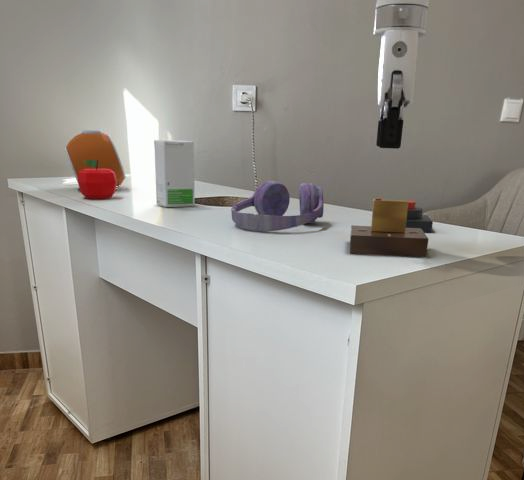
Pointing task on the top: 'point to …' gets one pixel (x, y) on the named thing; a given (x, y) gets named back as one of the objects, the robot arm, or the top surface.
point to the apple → (96, 181)
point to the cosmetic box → (174, 173)
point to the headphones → (278, 207)
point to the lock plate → (388, 242)
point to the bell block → (418, 220)
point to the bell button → (411, 205)
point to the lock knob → (389, 215)
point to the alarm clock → (94, 153)
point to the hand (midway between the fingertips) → (387, 147)
